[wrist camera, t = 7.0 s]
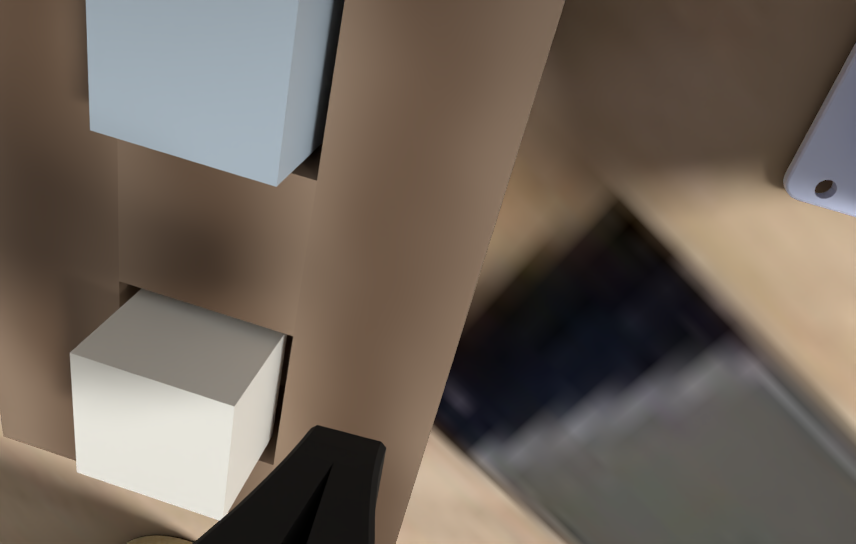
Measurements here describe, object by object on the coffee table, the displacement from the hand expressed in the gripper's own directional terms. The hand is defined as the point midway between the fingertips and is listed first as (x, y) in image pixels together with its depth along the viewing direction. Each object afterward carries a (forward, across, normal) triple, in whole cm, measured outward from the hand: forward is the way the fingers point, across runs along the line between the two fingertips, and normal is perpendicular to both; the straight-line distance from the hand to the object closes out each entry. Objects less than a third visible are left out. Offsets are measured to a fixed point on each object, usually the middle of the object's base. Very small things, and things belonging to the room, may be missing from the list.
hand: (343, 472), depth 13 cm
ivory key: (+7, +6, +4) cm, 10 cm away
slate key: (+8, +5, -6) cm, 11 cm away
